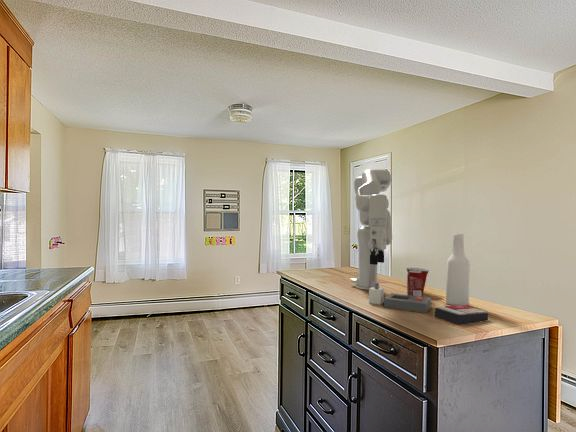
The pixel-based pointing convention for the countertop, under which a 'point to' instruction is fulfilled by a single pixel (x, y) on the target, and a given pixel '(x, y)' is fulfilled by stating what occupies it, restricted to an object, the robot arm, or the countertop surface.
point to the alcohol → (457, 274)
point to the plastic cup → (423, 271)
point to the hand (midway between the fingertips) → (377, 263)
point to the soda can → (415, 283)
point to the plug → (376, 294)
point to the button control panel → (460, 314)
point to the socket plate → (407, 302)
